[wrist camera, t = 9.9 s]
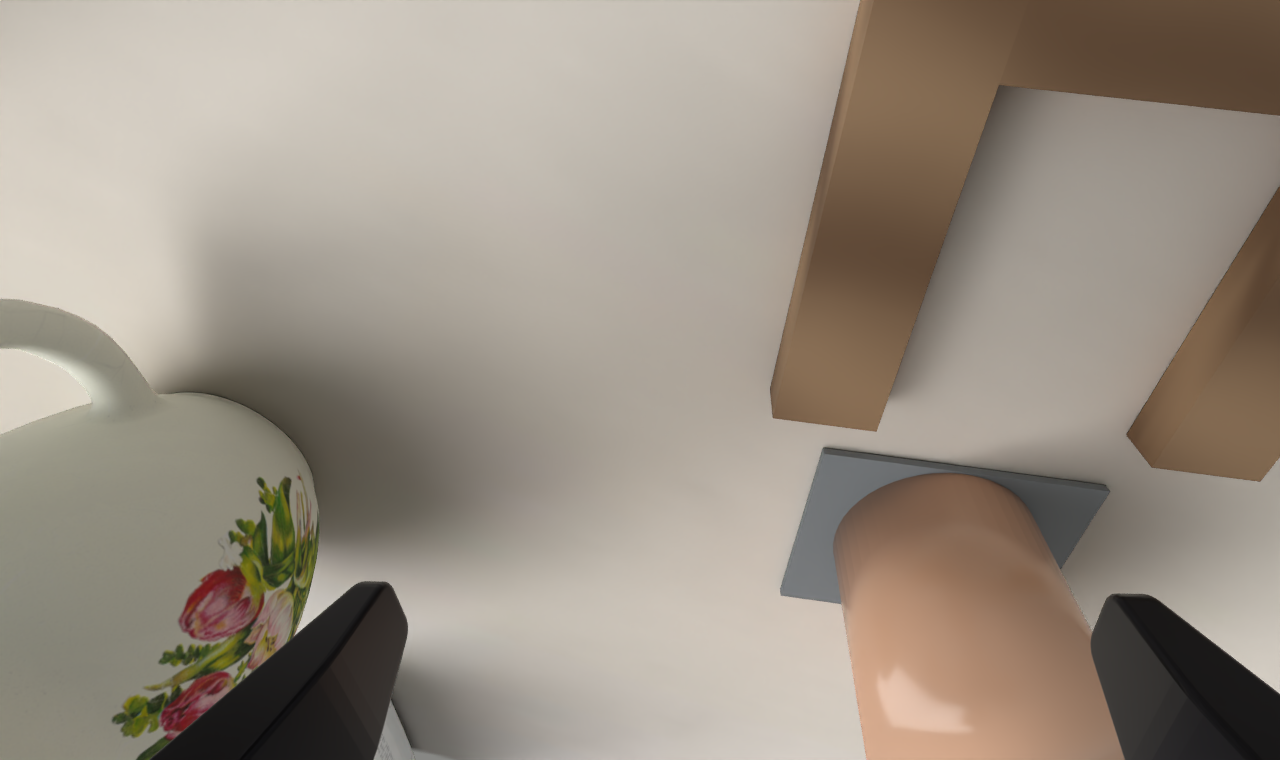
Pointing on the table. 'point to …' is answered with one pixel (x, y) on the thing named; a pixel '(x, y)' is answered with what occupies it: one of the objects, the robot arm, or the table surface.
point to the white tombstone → (393, 739)
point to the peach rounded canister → (965, 629)
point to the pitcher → (138, 552)
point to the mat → (856, 475)
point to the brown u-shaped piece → (938, 166)
